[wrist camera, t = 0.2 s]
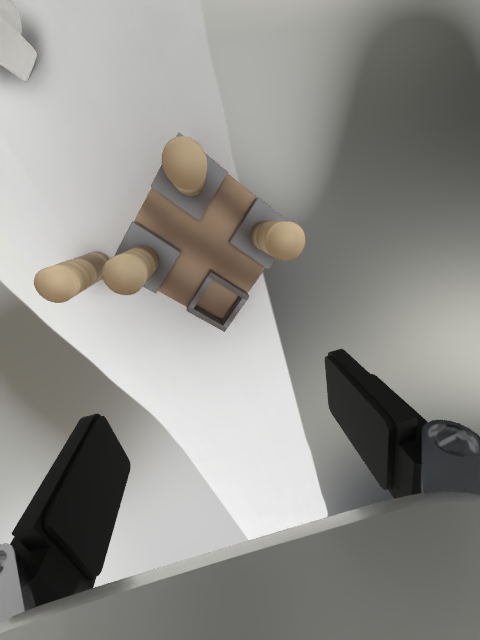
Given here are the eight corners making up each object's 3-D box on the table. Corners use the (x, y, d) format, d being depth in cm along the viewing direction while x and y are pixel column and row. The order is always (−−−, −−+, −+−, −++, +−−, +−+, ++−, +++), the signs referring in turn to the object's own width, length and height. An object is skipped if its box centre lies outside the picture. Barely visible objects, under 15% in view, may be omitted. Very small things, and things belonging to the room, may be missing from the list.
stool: (181, 141, 32) (167, 85, 18) (287, 226, 38) (336, 231, 24) (118, 260, 36) (68, 287, 23) (222, 320, 42) (232, 370, 28)
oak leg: (91, 246, 35) (41, 260, 24) (116, 261, 36) (80, 280, 25) (80, 268, 36) (28, 291, 25) (105, 281, 37) (65, 309, 26)
